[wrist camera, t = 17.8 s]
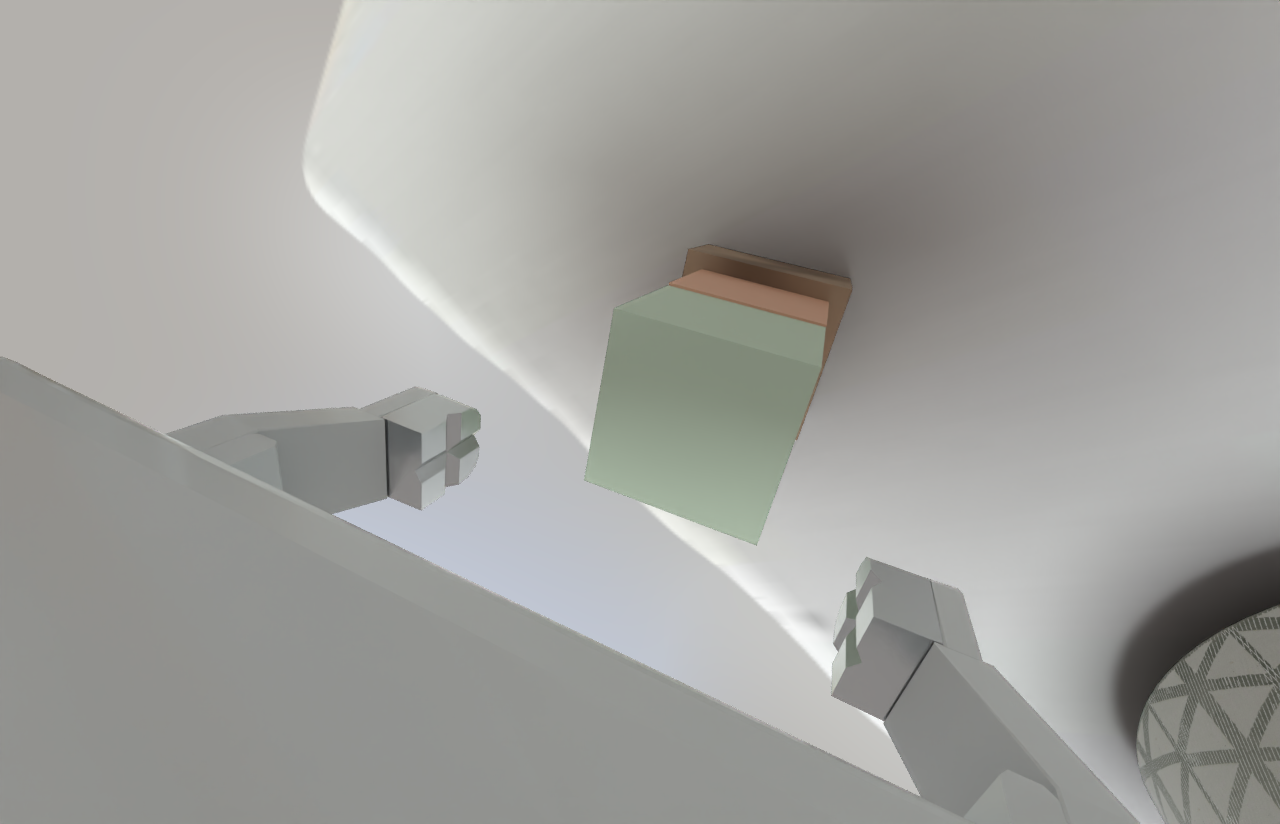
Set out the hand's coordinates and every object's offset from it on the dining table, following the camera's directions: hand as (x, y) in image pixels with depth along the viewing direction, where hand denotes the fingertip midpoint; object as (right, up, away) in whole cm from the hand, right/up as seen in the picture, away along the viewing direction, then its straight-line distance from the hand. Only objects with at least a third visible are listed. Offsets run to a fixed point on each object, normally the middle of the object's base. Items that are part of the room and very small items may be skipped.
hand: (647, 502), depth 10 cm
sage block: (+3, +3, +8) cm, 9 cm away
